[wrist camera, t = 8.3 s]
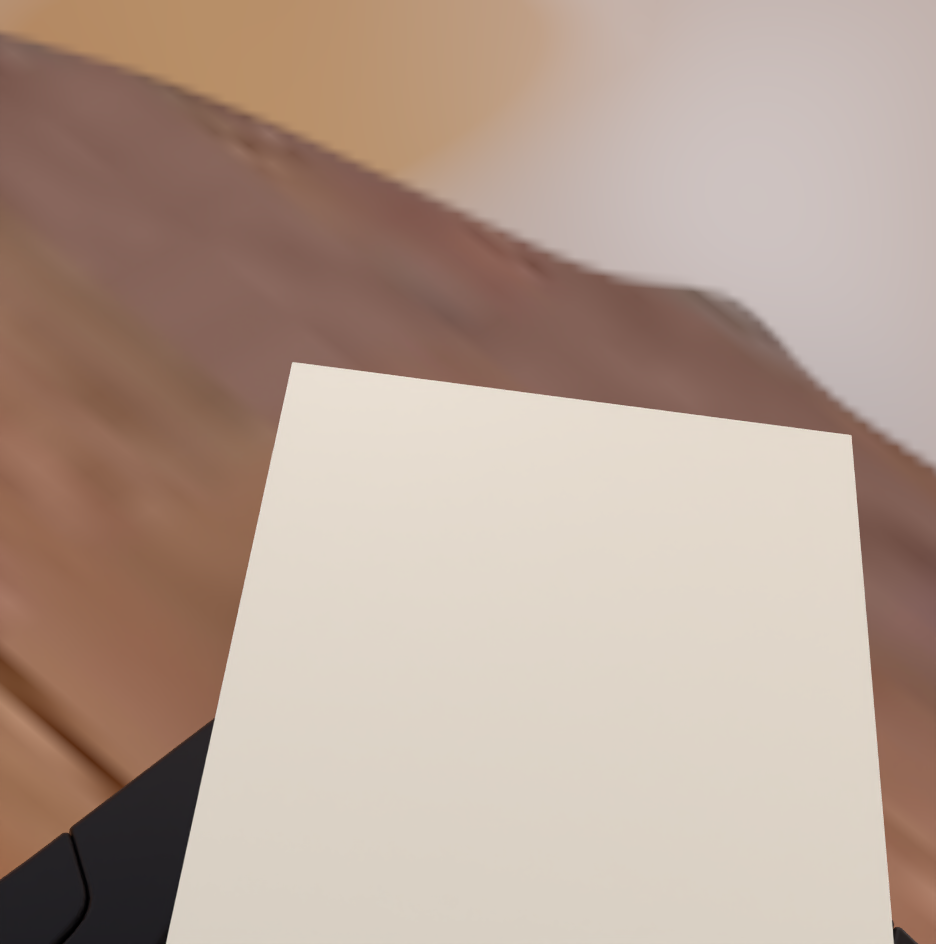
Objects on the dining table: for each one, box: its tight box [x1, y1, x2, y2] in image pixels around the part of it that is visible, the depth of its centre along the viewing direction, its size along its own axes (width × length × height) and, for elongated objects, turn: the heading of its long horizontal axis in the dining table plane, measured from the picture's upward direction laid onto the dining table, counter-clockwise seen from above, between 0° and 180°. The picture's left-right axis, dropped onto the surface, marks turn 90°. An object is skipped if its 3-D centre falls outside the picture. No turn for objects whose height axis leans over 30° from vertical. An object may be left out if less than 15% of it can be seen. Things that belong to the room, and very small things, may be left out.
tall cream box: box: [166, 362, 894, 944], centre depth 9 cm, size 4×3×12 cm, turn 174°
